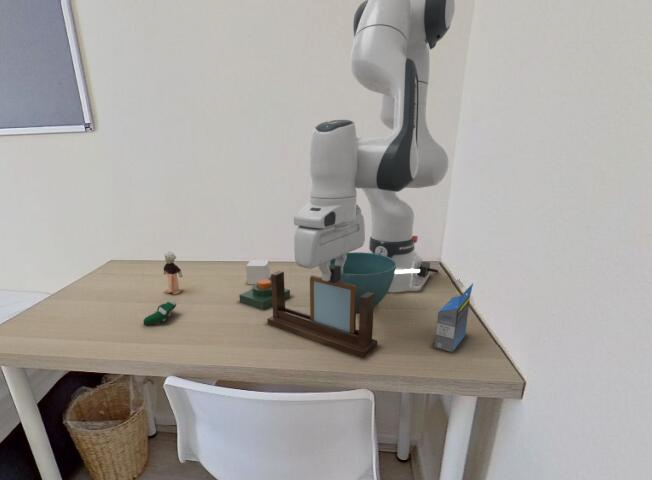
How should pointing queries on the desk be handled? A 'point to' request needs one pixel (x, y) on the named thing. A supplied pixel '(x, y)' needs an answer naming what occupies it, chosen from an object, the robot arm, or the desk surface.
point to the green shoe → (160, 313)
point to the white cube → (257, 271)
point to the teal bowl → (368, 274)
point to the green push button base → (259, 297)
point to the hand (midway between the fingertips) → (332, 277)
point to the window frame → (319, 332)
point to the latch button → (264, 284)
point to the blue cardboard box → (452, 322)
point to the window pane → (333, 301)
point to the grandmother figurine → (172, 273)
